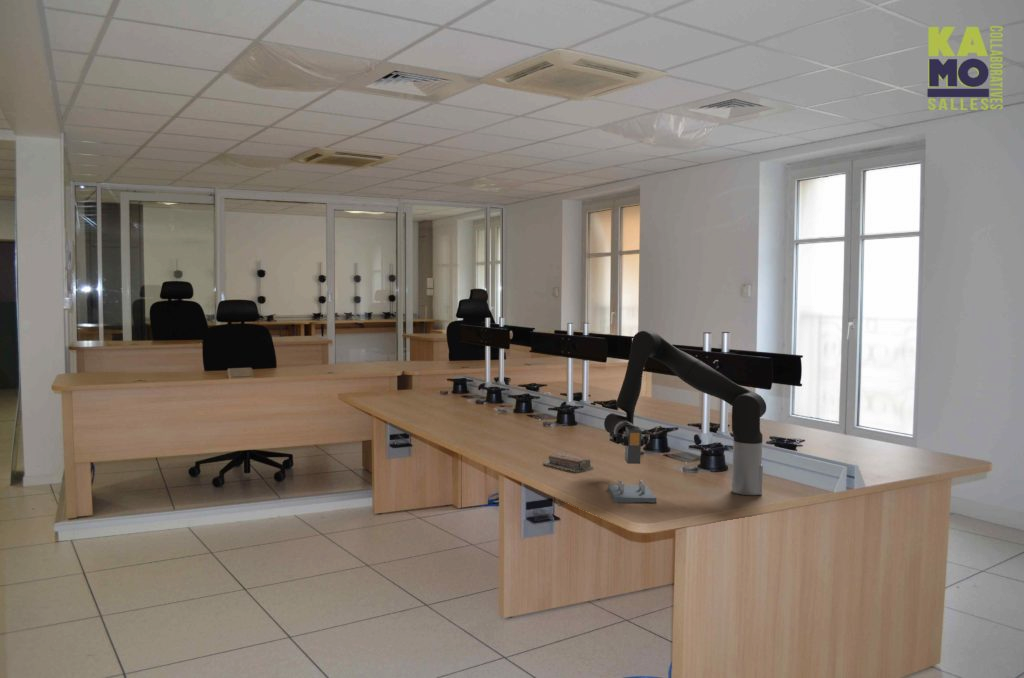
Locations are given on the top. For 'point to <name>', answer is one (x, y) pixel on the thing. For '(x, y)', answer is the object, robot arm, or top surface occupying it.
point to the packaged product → (569, 462)
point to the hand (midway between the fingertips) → (634, 443)
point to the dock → (631, 492)
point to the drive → (633, 445)
